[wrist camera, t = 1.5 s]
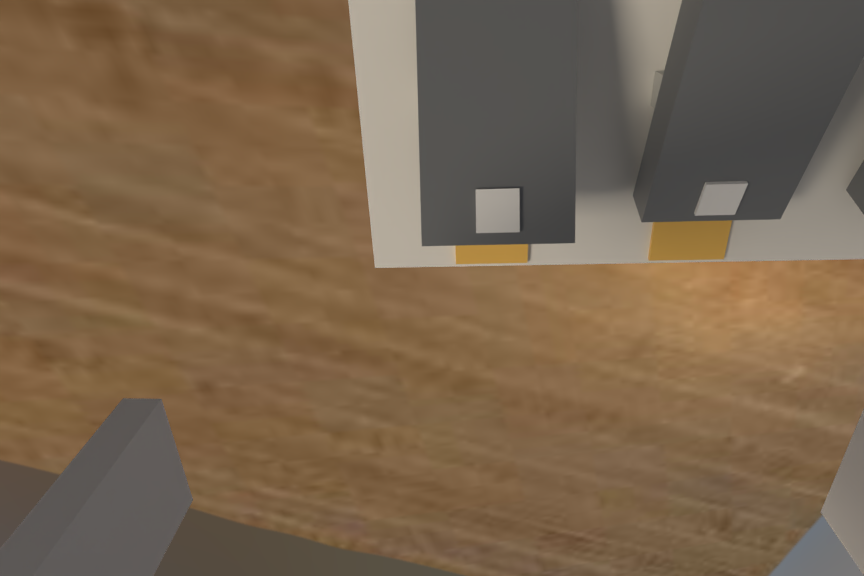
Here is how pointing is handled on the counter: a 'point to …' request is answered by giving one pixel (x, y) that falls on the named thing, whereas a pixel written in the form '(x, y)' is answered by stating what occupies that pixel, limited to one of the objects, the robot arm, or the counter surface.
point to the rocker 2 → (745, 105)
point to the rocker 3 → (857, 188)
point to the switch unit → (593, 154)
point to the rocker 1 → (497, 121)
